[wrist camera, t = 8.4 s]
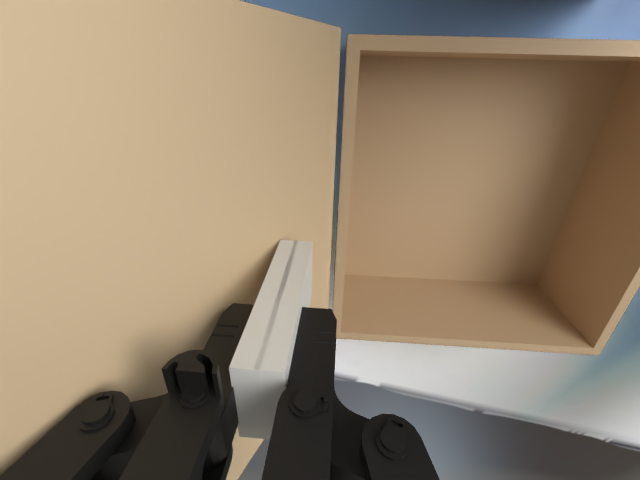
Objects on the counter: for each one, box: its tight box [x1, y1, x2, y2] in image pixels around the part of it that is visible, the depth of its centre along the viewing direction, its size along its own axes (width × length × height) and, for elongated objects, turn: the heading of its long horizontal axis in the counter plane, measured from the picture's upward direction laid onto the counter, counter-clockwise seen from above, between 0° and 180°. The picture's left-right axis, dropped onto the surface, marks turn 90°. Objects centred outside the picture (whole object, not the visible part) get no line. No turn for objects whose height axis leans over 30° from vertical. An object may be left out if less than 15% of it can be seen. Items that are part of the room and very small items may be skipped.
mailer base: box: [333, 34, 640, 355], centre depth 22 cm, size 18×18×8 cm
